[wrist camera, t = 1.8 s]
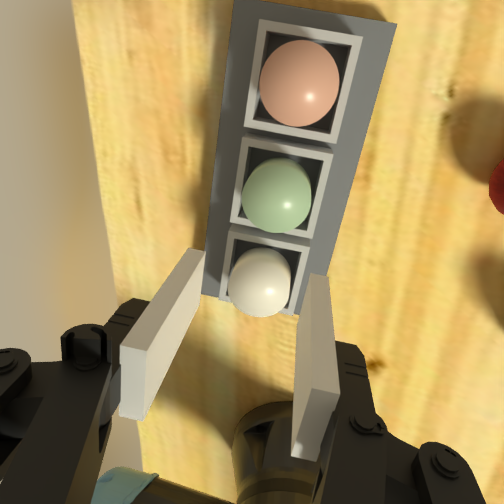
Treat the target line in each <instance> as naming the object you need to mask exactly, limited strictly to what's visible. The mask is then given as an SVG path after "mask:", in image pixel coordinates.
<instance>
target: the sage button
mask: <svg viewBox="0 0 504 504" xmlns="http://www.w3.org/2000/svg"><path fill="white" fill-rule="evenodd" d="M242 206H243V210H244V212H245V214H246V216H247V218H248V219H249V220H250V221H251V222H252V223H253V224H254V225H255V226H256V227H258V228H260V229H261V230H264V231H267V232H271V233H283V232H287V231H290V230H292V229H294V228H296V227H297V226H299V225H300V224H301V223H302V222H303V221H304V220H305V218H306V217H307V215H308V213H309V210H310V207H311V183H310V179H309V177H308V174H307V173H306V171H305V170H304V168H303V167H302V166H301V165H299V164H298V163H297V162H295V161H293V160H291V159H288V158H283V157H275V158H270V159H267V160H265V161H263V162H262V163H260V164H259V165H258V166H257V167H256V168H255V169H254V170H253V172H252V173H251V175H250V177H249V178H248V180H247V182H246V184H245V185H244V188H243V192H242Z"/></svg>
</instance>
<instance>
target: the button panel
mask: <svg viewBox="0 0 504 504" xmlns="http://www.w3.org/2000/svg"><path fill="white" fill-rule="evenodd" d="M396 27H397V24H395V23H390V22H384V21H378V20H372V19H366V18H360V17H354V16H348V15H342V14H336V13H331V12H325V11H319V10H313V9H307V8H301V7H295V6H289V5H283V4H278V3H272V2H266V1H260V0H234V5H233V13H232V22H231V30H230V39H229V47H228V56H227V64H226V73H225V81H224V89H223V98H222V106H221V115H220V123H219V132H218V140H217V148H216V157H215V165H214V174H213V182H212V191H211V199H210V207H209V216H208V224H207V233H206V241H205V250H204V251H206V254H205V262H204V271H203V279H202V287H201V294H204V295H208V296H213V297H218V298H219V300H222V301H226V302H231V300H230V297H229V295H228V282H229V279H230V277H231V274H232V272H233V269H234V266H235V264H236V261H237V260H238V258H239V257H240V256H241V255H242V254H243V253H244V252H246V251H247V250H250V249H252V248H258V247H264V248H270V249H273V250H275V251H277V252H278V253H280V254H281V255H282V256H283V257H284V258H285V259H286V260H287V262H288V264H289V266H290V270H291V280H290V292H289V298H288V301H287V303H286V305H285V306H284V307H283V309H282V310H280V311H279V312H278V313H283V314H287V315H292V316H293V314H298V315H300V312H301V308H302V304H303V300H304V296H305V292H306V289H307V285H308V281H309V277H310V273H313V274H318V275H323V276H326V275H327V271H328V268H329V264H330V261H331V257H332V254H333V250H334V247H335V243H336V239H337V236H338V232H339V229H340V225H341V222H342V218H343V215H344V211H345V208H346V204H347V200H348V197H349V193H350V190H351V186H352V183H353V179H354V176H355V172H356V169H357V165H358V161H359V158H360V154H361V151H362V147H363V144H364V140H365V137H366V133H367V130H368V126H369V123H370V119H371V115H372V112H373V108H374V105H375V101H376V98H377V94H378V91H379V87H380V84H381V80H382V76H383V73H384V69H385V66H386V62H387V59H388V55H389V52H390V48H391V45H392V41H393V37H394V34H395V30H396ZM296 40H307V41H311V42H314V43H317V44H319V45H320V46H322V47H323V48H324V49H326V50H327V51H328V52H329V53H330V55H331V56H332V58H333V59H334V61H335V63H336V66H337V69H338V73H339V89H338V94H337V97H336V100H335V102H334V104H333V105H332V107H331V109H330V110H329V111H328V112H327V113H326V115H325V116H323V117H322V118H321V119H320V120H318V121H316V122H314V123H312V124H310V125H306V126H300V127H295V126H289V125H285V124H283V123H281V122H279V121H277V120H276V119H275V118H273V117H272V116H271V115H270V114H269V112H268V111H267V110H266V108H265V106H264V104H263V102H262V99H261V95H260V88H259V83H260V76H261V72H262V69H263V66H264V64H265V62H266V61H267V59H268V57H269V56H270V55H271V54H272V53H273V52H274V51H275V50H276V49H277V48H279V47H280V46H282V45H284V44H285V43H288V42H291V41H296ZM275 157H283V158H288V159H291V160H293V161H295V162H297V163H298V164H299V165H301V166H302V167H303V168H304V170H305V171H306V173H307V174H308V177H309V179H310V183H311V207H310V210H309V213H308V215H307V217H306V218H305V220H304V221H303V222H302V223H301V224H300V225H299V226H297V227H296V228H294V229H292V230H290V231H287V232H283V233H271V232H267V231H264V230H261V229H260V228H258V227H256V226H255V225H254V224H253V223H252V222H251V221H250V220H249V219H248V218H247V216H246V214H245V212H244V210H243V206H242V192H243V188H244V185H245V184H246V182H247V180H248V178H249V177H250V175H251V173H252V172H253V170H254V169H255V168H256V167H257V166H258V165H259V164H260V163H262V162H263V161H265V160H267V159H270V158H275ZM231 303H232V302H231Z"/></svg>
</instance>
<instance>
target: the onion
mask: <svg viewBox="0 0 504 504" xmlns="http://www.w3.org/2000/svg"><path fill="white" fill-rule="evenodd" d="M489 196H490V198H491V200H492V202H493V204H494V206H495V207H496V209H497V210H498V211H499V212H500V213H502V214H503V215H504V159H503V160H502V161H501V162H500V163H499V165H498V166H497V167H496V168H495V169H494V171H493V173H492V176H491V178H490V181H489Z"/></svg>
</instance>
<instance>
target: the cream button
mask: <svg viewBox="0 0 504 504" xmlns="http://www.w3.org/2000/svg"><path fill="white" fill-rule="evenodd" d="M290 280H291V270H290V266H289V264H288V262H287V260H286V259H285V258H284V257H283V256H282V255H281V254H280V253H278V252H277V251H275V250H273V249H270V248H264V247H258V248H252V249H250V250H247V251H246V252H244V253H243V254H242V255H241V256H240V257H239V258H238V260H237V261H236V264H235V266H234V269H233V272H232V274H231V277H230V279H229V282H228V295H229V297H230V300H231V302H232V303H233V304H234V306H235V307H236V308H237V309H239V310H240V311H241V312H243V313H245V314H247V315H250V316H254V317H267V316H271V315H274V314H276V313H278V312H279V311H280V310H282V309H283V307H284V306H285V305H286V303H287V301H288V298H289V292H290Z"/></svg>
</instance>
